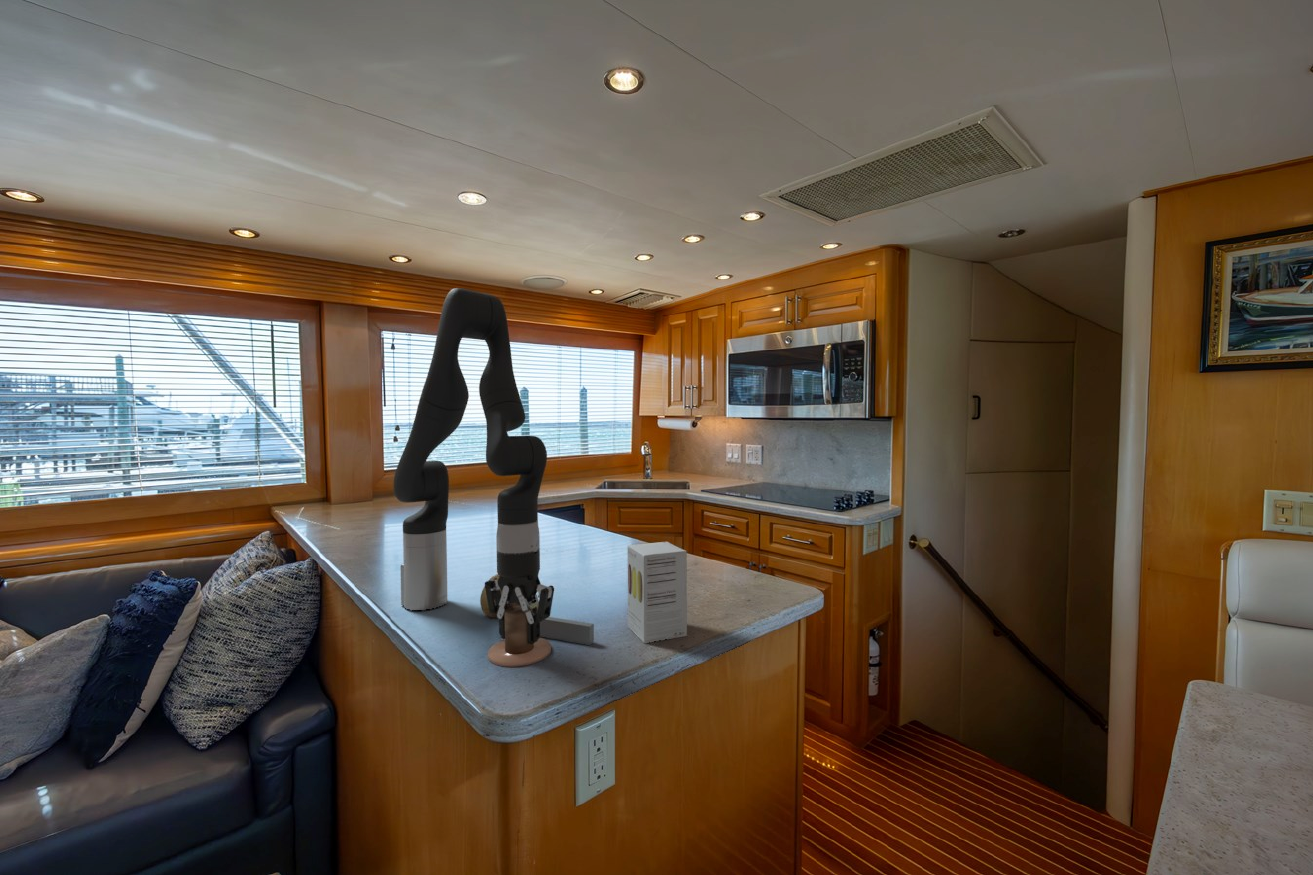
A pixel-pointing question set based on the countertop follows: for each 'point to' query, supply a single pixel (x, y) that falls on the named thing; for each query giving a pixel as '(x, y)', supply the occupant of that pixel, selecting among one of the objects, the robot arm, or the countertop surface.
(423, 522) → the robot arm
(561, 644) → the countertop surface
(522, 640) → the walnut cylinder
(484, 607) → the bread roll
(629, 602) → the supplement box
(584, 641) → the plastic fence
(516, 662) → the terracotta saucer
